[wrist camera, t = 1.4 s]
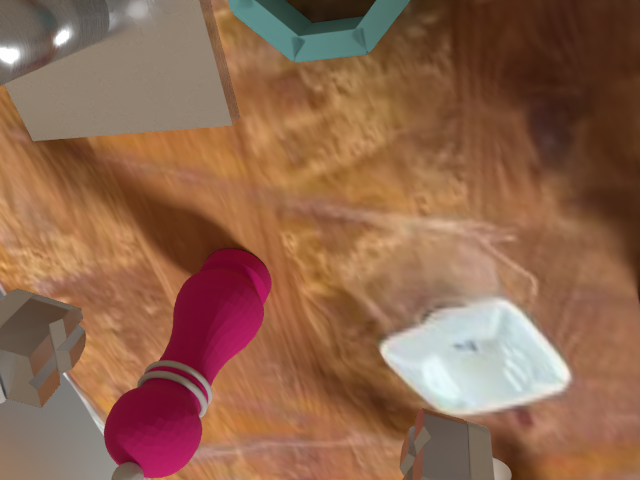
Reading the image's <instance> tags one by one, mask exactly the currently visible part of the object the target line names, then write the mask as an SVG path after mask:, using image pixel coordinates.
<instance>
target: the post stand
mask: <svg viewBox="0 0 640 480" xmlns="http://www.w3.org/2000/svg"><path fill="white" fill-rule="evenodd" d="M3 84H4V85H5V87H6V89H7V91H8V93H9V95H10V97H11V99H12V101H13V103H14V105H15V107H16V109H17V111H18V113H19V115H20V116H21V118H22V120H23V122H24V124H25V126H26V128H27V130H28V132H29V134H30V136H31V138H32V140H33V141H42V140H54V139H67V138H80V137H92V136H105V135H117V134H130V133H143V132H155V131H168V130H181V129H193V128H206V127H219V126H231V125H233V124H234V123H235V122H236V121H237V120H238V119H239V118H240V116H239V112H238V108H237V104H236V100H235V96H234V92H233V88H232V84H231V81H230V77H229V73H228V69H227V65H226V61H225V57H224V53H223V49H222V45H221V42H220V38H219V34H218V30H217V26H216V22H215V18H214V14H213V10H212V6H211V3H210V0H0V86H1V85H3Z"/></svg>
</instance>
